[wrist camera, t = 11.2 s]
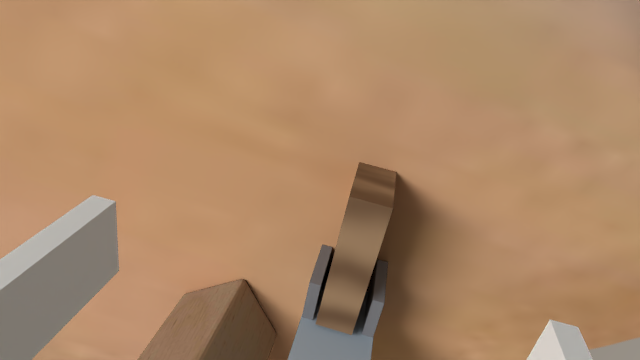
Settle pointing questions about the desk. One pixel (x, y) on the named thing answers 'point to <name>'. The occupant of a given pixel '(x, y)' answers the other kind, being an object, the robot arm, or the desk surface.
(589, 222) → the desk surface
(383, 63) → the desk surface
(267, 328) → the wooden block
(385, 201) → the rail
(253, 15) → the desk surface
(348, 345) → the gray block with ears
